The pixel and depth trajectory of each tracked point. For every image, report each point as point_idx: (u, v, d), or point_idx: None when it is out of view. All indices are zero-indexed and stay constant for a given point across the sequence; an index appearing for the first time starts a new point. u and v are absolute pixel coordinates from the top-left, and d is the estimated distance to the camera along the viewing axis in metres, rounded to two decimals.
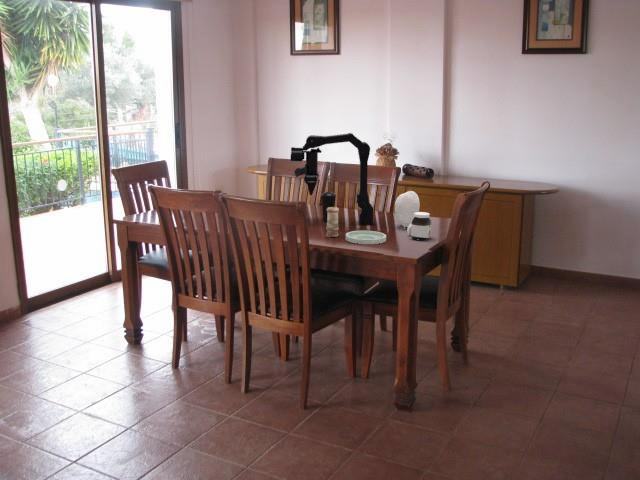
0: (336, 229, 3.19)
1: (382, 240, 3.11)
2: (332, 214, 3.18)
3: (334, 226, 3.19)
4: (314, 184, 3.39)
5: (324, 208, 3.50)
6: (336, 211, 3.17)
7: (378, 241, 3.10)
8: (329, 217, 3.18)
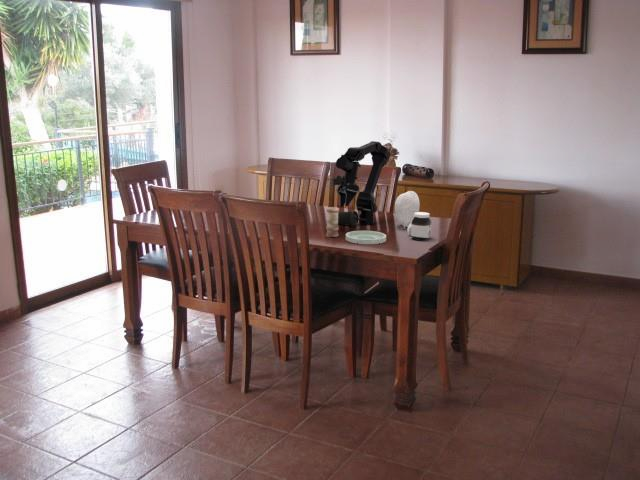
0: (336, 229, 3.19)
1: (382, 240, 3.11)
2: (332, 214, 3.18)
3: (334, 226, 3.19)
4: (353, 195, 3.25)
5: (340, 221, 3.45)
6: (336, 211, 3.17)
7: (378, 241, 3.10)
8: (329, 217, 3.18)
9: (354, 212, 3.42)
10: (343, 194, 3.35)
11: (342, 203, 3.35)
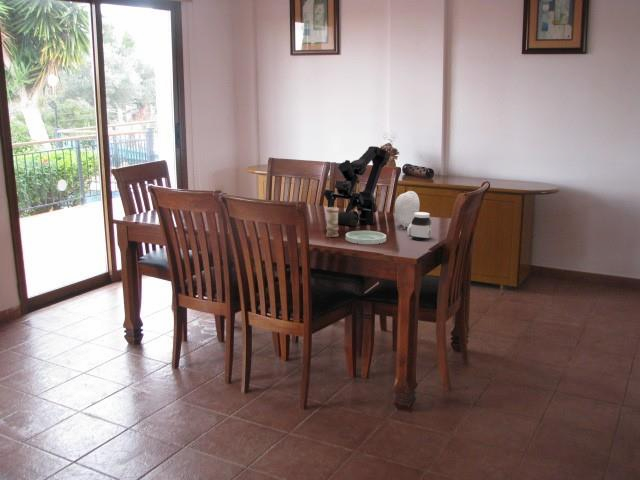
0: (336, 229, 3.19)
1: (382, 240, 3.11)
2: (332, 214, 3.18)
3: (334, 226, 3.19)
4: (354, 205, 3.23)
5: (340, 221, 3.45)
6: (336, 211, 3.17)
7: (378, 241, 3.10)
8: (329, 217, 3.18)
9: (354, 212, 3.43)
10: (332, 199, 3.28)
11: None
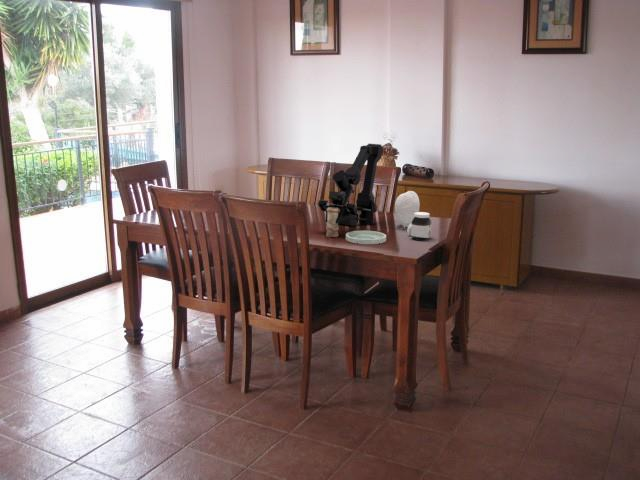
0: (336, 229, 3.19)
1: (382, 240, 3.11)
2: (332, 214, 3.18)
3: (334, 226, 3.19)
4: (345, 215, 3.21)
5: (340, 221, 3.45)
6: (336, 211, 3.17)
7: (378, 241, 3.10)
8: (329, 217, 3.18)
9: None
10: None
11: None
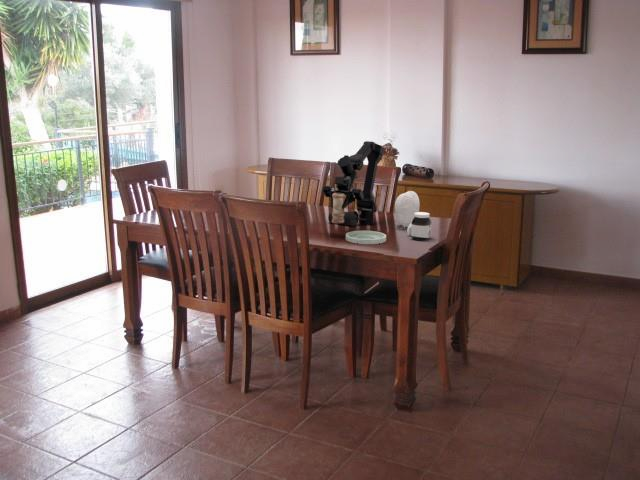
0: (342, 215, 3.17)
1: (382, 240, 3.11)
2: (338, 200, 3.15)
3: (340, 212, 3.16)
4: (350, 201, 3.19)
5: None
6: (342, 196, 3.14)
7: (378, 241, 3.10)
8: (335, 203, 3.15)
9: (354, 212, 3.43)
10: None
11: None
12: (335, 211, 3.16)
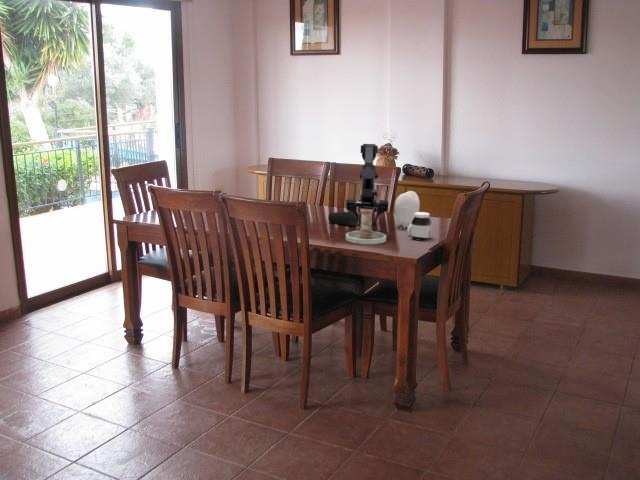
0: (371, 230, 3.15)
1: (382, 240, 3.11)
2: (368, 215, 3.13)
3: (370, 228, 3.15)
4: (380, 213, 3.18)
5: (340, 221, 3.45)
6: (372, 212, 3.13)
7: (378, 241, 3.10)
8: (365, 219, 3.13)
9: None
10: None
11: (357, 217, 3.15)
12: (365, 227, 3.14)
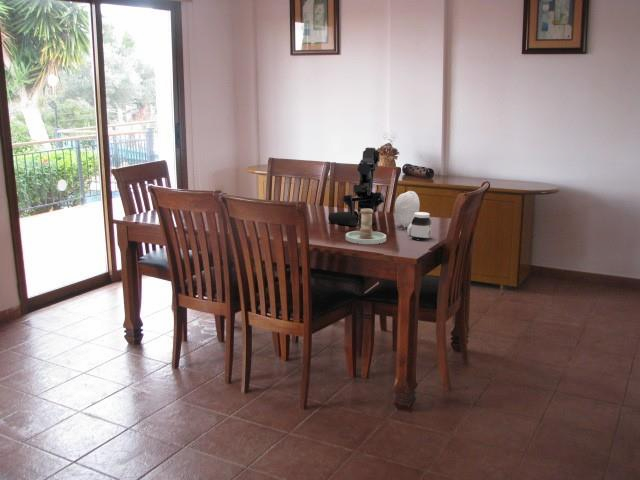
0: (371, 230, 3.15)
1: (382, 240, 3.11)
2: (368, 216, 3.12)
3: (370, 228, 3.15)
4: (377, 205, 3.25)
5: (340, 221, 3.45)
6: (372, 212, 3.13)
7: (378, 241, 3.10)
8: (365, 219, 3.13)
9: (354, 212, 3.43)
10: (352, 203, 3.28)
11: (353, 212, 3.27)
12: (365, 227, 3.14)
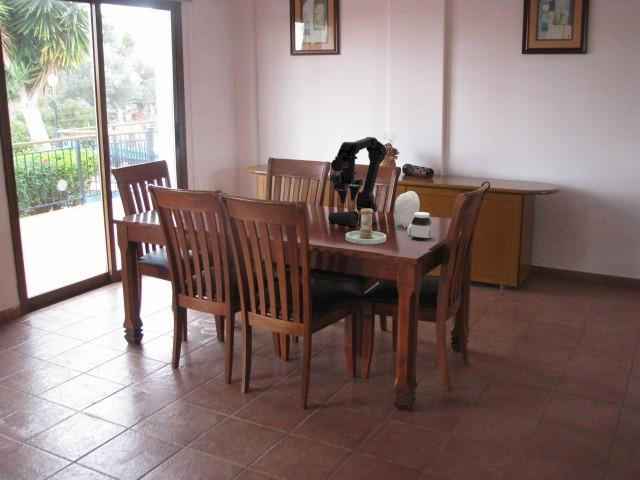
0: None
1: (382, 240, 3.11)
2: (368, 216, 3.13)
3: (370, 228, 3.15)
4: (344, 192, 3.26)
5: (340, 221, 3.45)
6: (372, 212, 3.13)
7: (378, 241, 3.10)
8: (365, 219, 3.13)
9: (354, 212, 3.43)
10: (352, 187, 3.37)
11: (352, 197, 3.37)
12: (365, 227, 3.14)
